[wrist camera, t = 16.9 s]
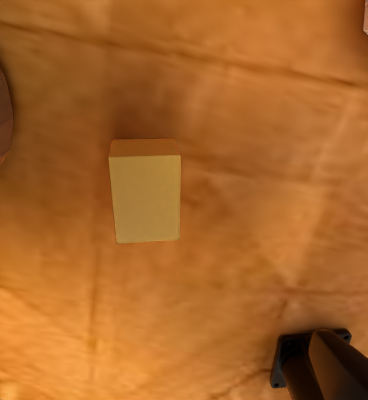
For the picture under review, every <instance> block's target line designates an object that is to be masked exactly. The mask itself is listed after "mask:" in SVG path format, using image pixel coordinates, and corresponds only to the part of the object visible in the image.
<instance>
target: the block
mask: <svg viewBox="0 0 368 400" xmlns="http://www.w3.org/2000/svg"><path fill="white" fill-rule="evenodd" d="M108 162H109V172H110V183H111V193H112V203H113V214H114V224H115V234H116V243H117V244H120V243H136V242H152V241H168V240H179V239H180V173H181V155H180V152H179V150H178V147H177V145H176V142H175V139H174V138H162V139H117V140H112V143H111V147H110V152H109V156H108Z"/></svg>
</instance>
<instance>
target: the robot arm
mask: <svg viewBox="0 0 368 400" xmlns="http://www.w3.org/2000/svg"><path fill="white" fill-rule="evenodd" d="M351 337H352V335H351V334H350V332H349V331H348V330H337V331H331V330H329V329H320V330H315V331H314V332H313V333H309V334H299V335H290V336H283V337H281V338H280V339H279V341H278V346H277V350H276V355H275V360H274V364H273V369H272V373H271V378H270V384H271V387H272V388H282V387H287V389H288V392H289V394H290V396H291V399H292V400H368V358H367V357H366V356H364V355H363V354H362V353H360V352H359V351H358V350H356V349H355V348H354V347H352V346H351V345H350V344H349V342H350V340H351Z"/></svg>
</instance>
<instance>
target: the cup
mask: <svg viewBox="0 0 368 400" xmlns="http://www.w3.org/2000/svg"><path fill="white" fill-rule="evenodd" d="M363 31H364V32H365V33H366V34H367V35H368V0H366V2H365V15H364V28H363Z"/></svg>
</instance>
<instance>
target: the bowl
mask: <svg viewBox="0 0 368 400" xmlns="http://www.w3.org/2000/svg"><path fill="white" fill-rule="evenodd" d="M13 119H14V114H13V109H12V105H11V100H10V96H9V91H8V87H7V82H6V79H5V77H4V75H3V73H2V71H1V69H0V166H1V164H2V163H3V161H4V159H5V157H6V155H7V153H8V152H9V150H10V145H11V136H12V128H13Z"/></svg>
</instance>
